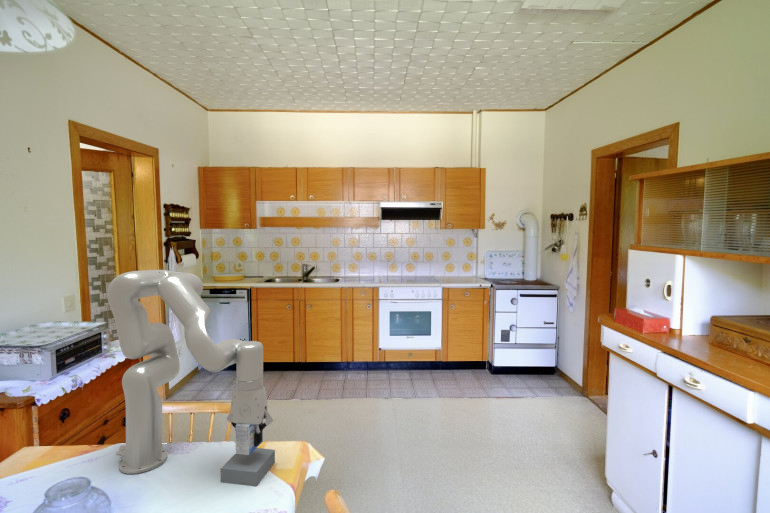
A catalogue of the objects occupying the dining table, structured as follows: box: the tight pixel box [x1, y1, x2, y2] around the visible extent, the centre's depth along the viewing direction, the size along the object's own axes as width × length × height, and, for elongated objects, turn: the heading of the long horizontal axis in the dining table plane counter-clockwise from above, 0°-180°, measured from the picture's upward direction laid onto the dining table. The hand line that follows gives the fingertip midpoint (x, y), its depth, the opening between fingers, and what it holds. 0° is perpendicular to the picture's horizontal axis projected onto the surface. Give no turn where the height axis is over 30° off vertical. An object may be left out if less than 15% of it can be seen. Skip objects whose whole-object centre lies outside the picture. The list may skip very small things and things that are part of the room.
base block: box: [220, 447, 276, 487], centre depth 111 cm, size 11×12×4 cm
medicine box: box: [235, 424, 264, 455], centre depth 111 cm, size 8×4×9 cm, turn 168°
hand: (249, 442), depth 111 cm, fingers closed on medicine box, 4 cm apart
